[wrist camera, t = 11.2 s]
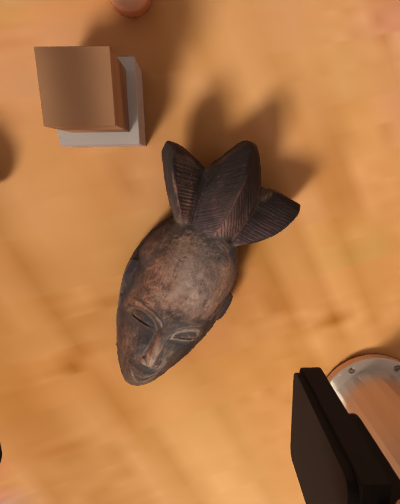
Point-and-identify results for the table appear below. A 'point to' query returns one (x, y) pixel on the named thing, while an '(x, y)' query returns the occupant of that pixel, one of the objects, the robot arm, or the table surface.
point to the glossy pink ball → (131, 7)
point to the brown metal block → (82, 89)
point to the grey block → (135, 117)
